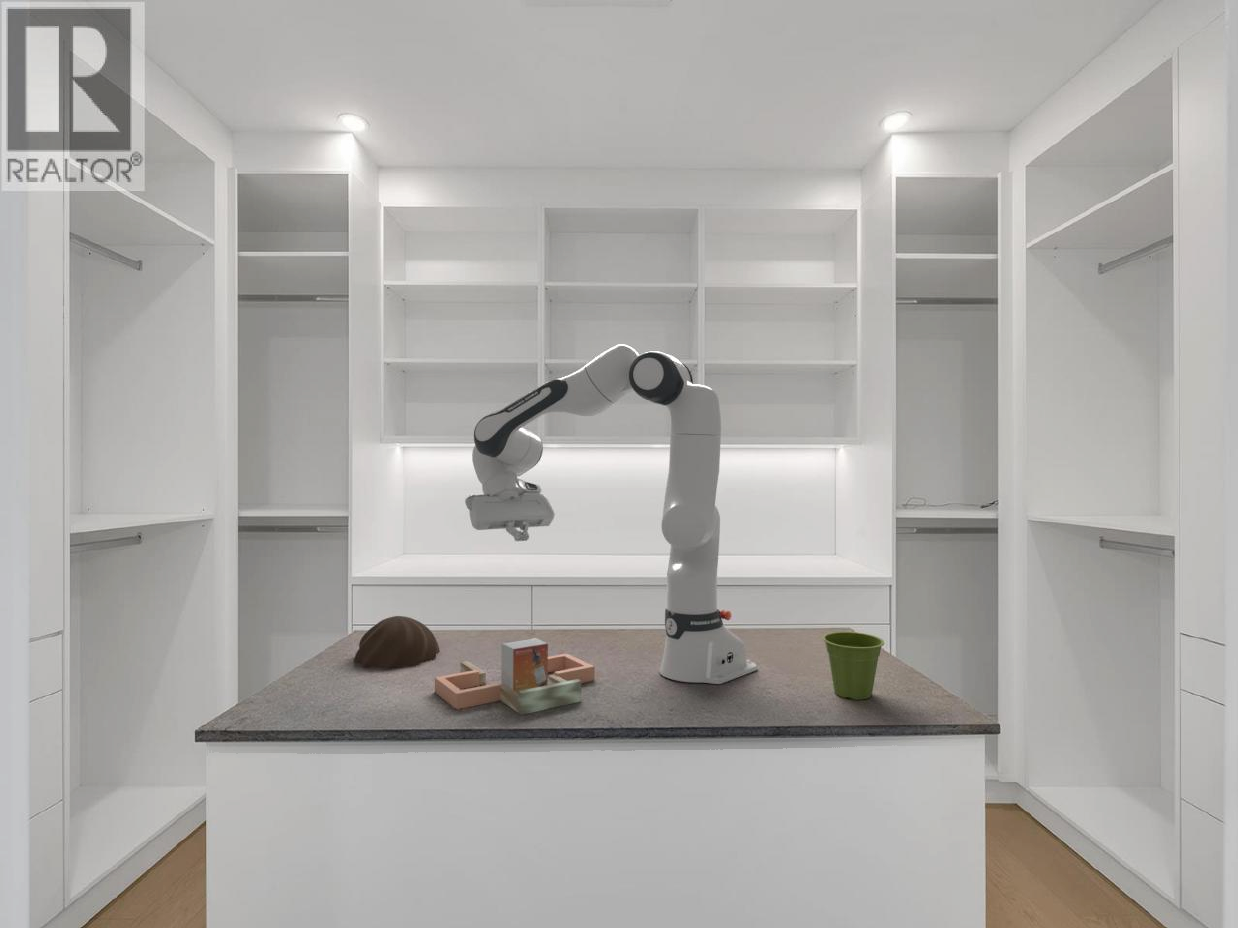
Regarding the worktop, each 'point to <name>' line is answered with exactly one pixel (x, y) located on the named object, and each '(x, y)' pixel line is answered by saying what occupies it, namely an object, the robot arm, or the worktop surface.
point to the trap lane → (534, 692)
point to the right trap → (571, 668)
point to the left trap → (465, 698)
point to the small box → (524, 664)
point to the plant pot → (853, 662)
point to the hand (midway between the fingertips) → (522, 539)
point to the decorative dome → (397, 644)
